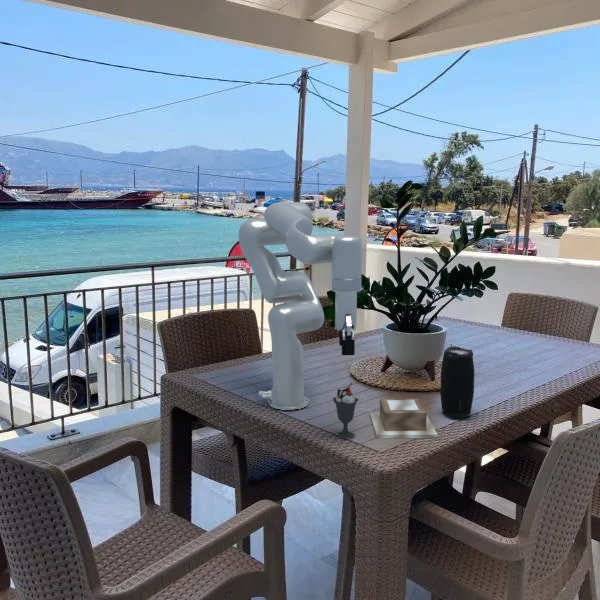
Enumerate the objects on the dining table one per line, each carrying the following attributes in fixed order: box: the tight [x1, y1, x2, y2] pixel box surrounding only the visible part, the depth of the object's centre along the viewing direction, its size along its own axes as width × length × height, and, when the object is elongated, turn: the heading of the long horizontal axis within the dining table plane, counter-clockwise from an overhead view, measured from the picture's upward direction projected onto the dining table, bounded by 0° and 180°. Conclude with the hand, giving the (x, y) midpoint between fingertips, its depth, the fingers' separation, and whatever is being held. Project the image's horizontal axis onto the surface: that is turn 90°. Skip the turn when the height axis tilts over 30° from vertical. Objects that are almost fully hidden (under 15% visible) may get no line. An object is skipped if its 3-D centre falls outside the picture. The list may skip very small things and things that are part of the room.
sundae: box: [332, 382, 360, 440], centre depth 151 cm, size 7×7×15 cm
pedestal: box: [369, 398, 439, 439], centre depth 157 cm, size 16×16×6 cm
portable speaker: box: [440, 345, 475, 421], centre depth 164 cm, size 9×9×20 cm
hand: (346, 350), depth 148 cm, fingers open, 9 cm apart
